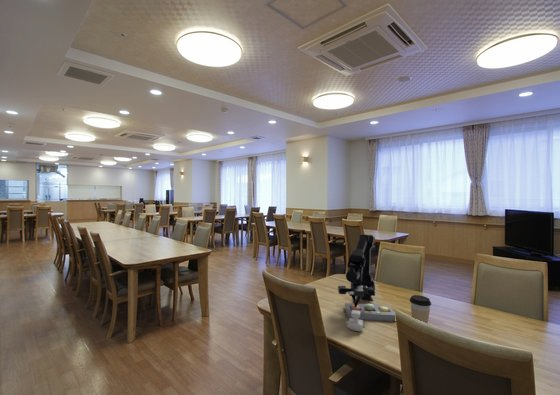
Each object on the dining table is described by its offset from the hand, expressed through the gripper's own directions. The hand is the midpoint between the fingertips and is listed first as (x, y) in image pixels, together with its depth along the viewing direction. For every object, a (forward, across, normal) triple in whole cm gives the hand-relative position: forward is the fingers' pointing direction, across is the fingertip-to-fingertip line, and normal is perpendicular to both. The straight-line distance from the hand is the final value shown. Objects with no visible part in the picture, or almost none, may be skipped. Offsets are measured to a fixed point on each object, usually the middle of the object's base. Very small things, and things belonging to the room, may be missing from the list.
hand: (355, 306), depth 151 cm
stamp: (+4, -4, -18) cm, 19 cm away
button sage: (+2, +7, 0) cm, 8 cm away
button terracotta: (+3, 0, 0) cm, 3 cm away
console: (+4, +8, 0) cm, 8 cm away
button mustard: (+3, +15, 0) cm, 15 cm away
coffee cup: (+4, +28, -14) cm, 31 cm away
